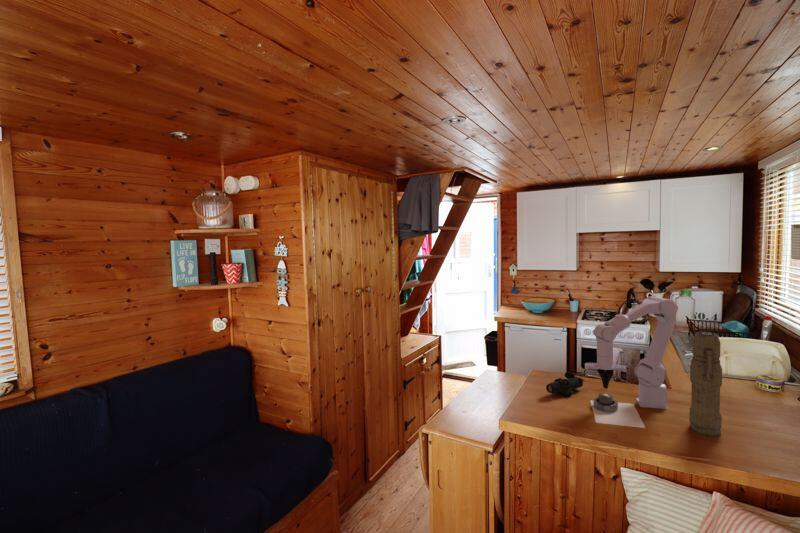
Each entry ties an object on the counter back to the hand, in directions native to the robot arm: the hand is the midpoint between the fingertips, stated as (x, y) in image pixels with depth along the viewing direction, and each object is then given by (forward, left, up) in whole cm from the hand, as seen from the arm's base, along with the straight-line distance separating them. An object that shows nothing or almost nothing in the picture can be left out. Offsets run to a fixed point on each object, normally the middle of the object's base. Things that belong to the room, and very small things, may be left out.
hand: (605, 387), depth 156 cm
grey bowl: (0, 0, -8) cm, 8 cm away
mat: (-3, +4, -9) cm, 10 cm away
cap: (0, 0, -8) cm, 8 cm away
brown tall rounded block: (-30, +10, -9) cm, 33 cm away
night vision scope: (+15, -11, -9) cm, 21 cm away
